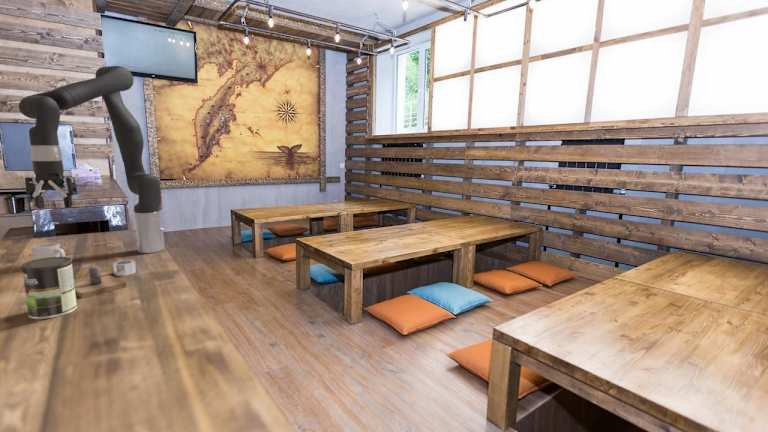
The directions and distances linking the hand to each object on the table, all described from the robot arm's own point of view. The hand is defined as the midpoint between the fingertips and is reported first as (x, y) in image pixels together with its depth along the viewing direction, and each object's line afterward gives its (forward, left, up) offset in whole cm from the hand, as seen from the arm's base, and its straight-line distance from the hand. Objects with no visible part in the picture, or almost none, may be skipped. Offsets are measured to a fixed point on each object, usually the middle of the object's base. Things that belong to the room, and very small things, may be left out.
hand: (54, 208), depth 129 cm
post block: (-2, +23, -24) cm, 33 cm away
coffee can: (+12, +34, -24) cm, 43 cm away
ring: (-14, +14, -24) cm, 31 cm away
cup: (-2, -16, -24) cm, 29 cm away
